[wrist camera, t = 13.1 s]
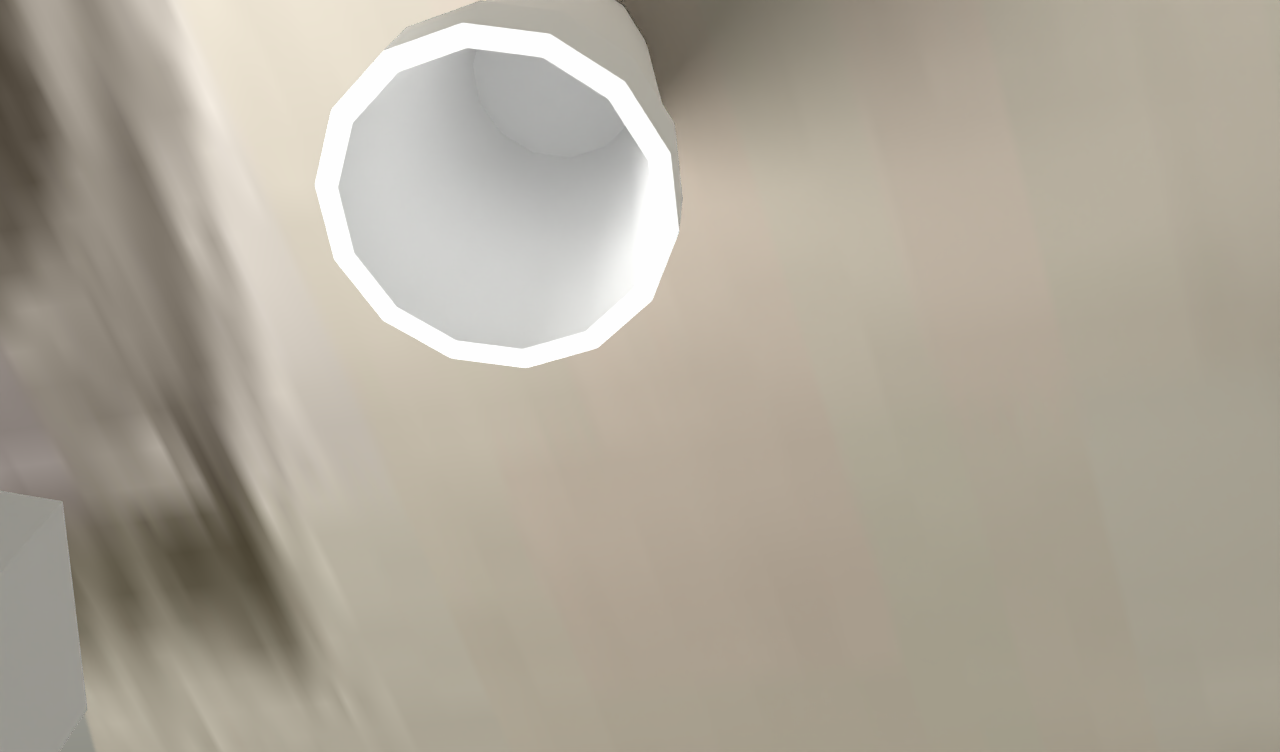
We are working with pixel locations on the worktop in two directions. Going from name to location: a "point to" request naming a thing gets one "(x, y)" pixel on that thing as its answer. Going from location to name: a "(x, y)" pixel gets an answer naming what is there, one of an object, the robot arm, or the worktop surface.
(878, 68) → the worktop surface
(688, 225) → the worktop surface
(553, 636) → the worktop surface
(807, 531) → the worktop surface
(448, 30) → the foam cup
